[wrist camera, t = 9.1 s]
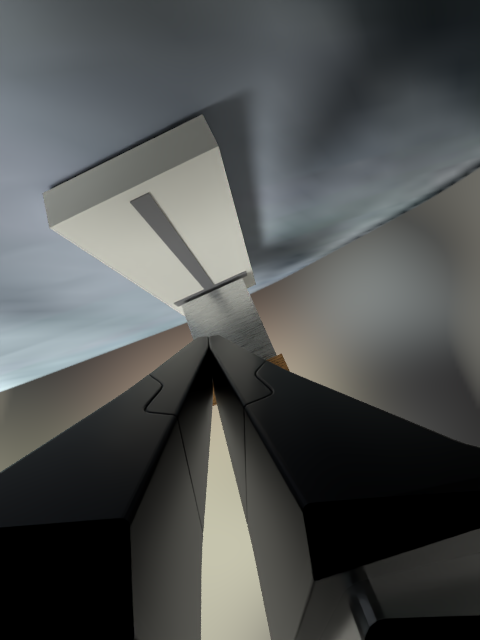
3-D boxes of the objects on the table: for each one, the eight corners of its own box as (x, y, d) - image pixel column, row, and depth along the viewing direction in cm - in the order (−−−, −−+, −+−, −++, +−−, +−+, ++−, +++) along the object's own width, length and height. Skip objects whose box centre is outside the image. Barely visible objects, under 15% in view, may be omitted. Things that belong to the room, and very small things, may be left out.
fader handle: (175, 305, 16) (209, 407, 14) (245, 273, 16) (290, 373, 14) (192, 317, 19) (222, 402, 17) (251, 291, 19) (288, 374, 17)
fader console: (42, 193, 8) (49, 229, 8) (202, 113, 8) (218, 147, 8) (178, 299, 19) (184, 316, 19) (248, 268, 19) (256, 285, 19)
